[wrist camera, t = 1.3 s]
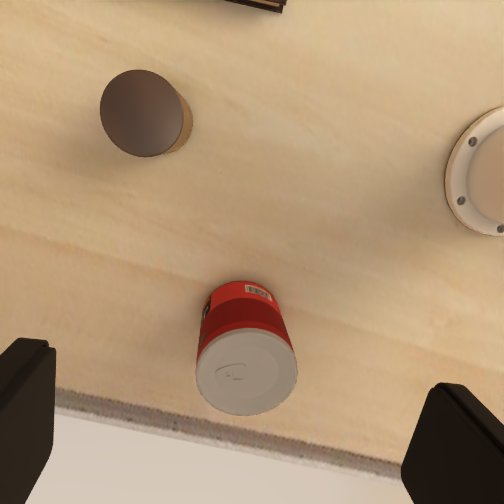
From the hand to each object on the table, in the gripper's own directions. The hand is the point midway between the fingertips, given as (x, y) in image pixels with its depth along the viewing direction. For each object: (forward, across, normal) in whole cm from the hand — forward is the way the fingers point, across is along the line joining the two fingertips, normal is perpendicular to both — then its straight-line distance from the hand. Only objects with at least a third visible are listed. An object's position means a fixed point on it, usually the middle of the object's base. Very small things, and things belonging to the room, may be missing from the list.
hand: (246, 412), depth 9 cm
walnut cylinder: (+28, +7, -7) cm, 29 cm away
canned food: (+28, -3, +10) cm, 30 cm away
